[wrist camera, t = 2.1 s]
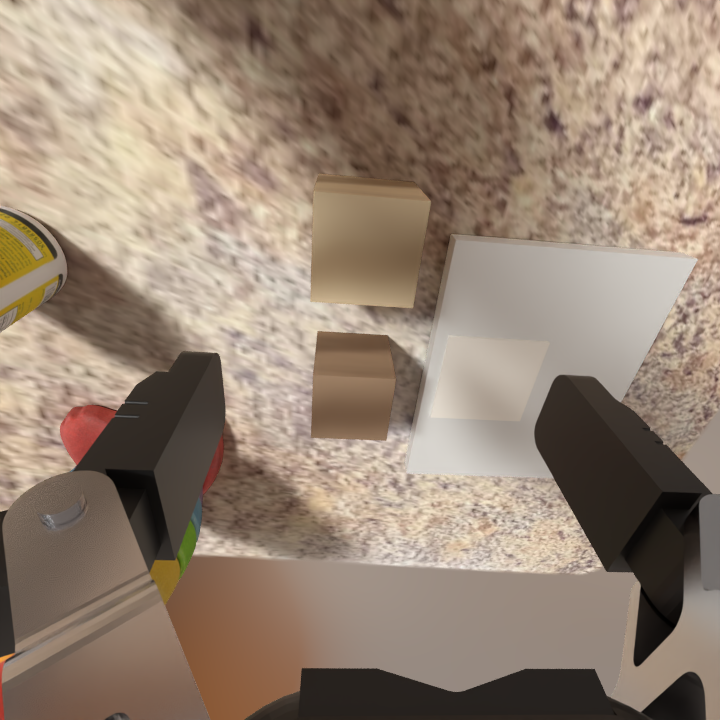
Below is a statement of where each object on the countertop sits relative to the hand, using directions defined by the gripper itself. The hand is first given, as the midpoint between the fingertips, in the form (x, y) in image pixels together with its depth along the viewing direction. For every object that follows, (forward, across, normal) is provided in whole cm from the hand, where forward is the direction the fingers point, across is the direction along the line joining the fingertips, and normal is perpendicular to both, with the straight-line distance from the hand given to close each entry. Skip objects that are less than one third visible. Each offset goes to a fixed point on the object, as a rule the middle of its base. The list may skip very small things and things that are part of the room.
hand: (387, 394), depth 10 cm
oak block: (+15, 0, 0) cm, 15 cm away
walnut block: (+15, 0, +9) cm, 18 cm away
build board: (+15, -12, +9) cm, 21 cm away
